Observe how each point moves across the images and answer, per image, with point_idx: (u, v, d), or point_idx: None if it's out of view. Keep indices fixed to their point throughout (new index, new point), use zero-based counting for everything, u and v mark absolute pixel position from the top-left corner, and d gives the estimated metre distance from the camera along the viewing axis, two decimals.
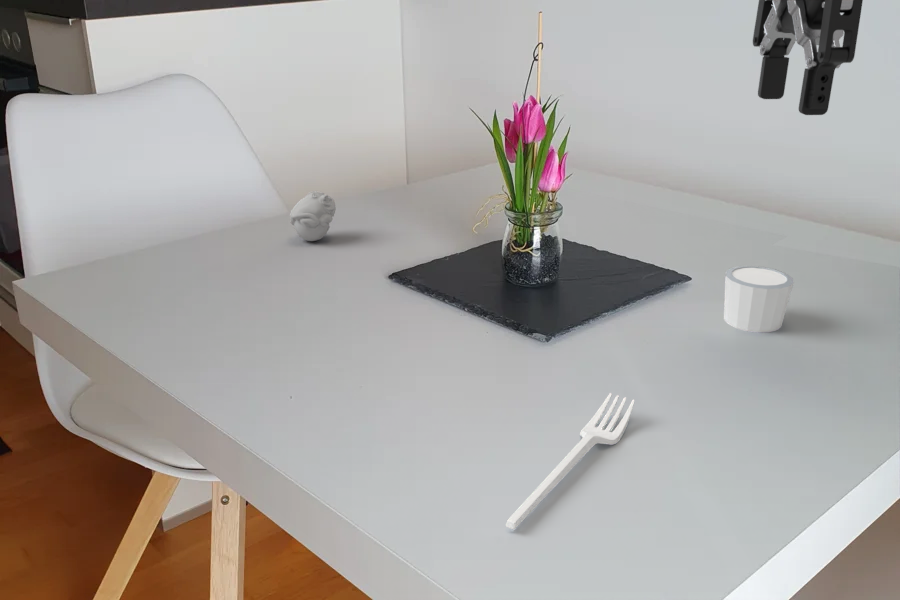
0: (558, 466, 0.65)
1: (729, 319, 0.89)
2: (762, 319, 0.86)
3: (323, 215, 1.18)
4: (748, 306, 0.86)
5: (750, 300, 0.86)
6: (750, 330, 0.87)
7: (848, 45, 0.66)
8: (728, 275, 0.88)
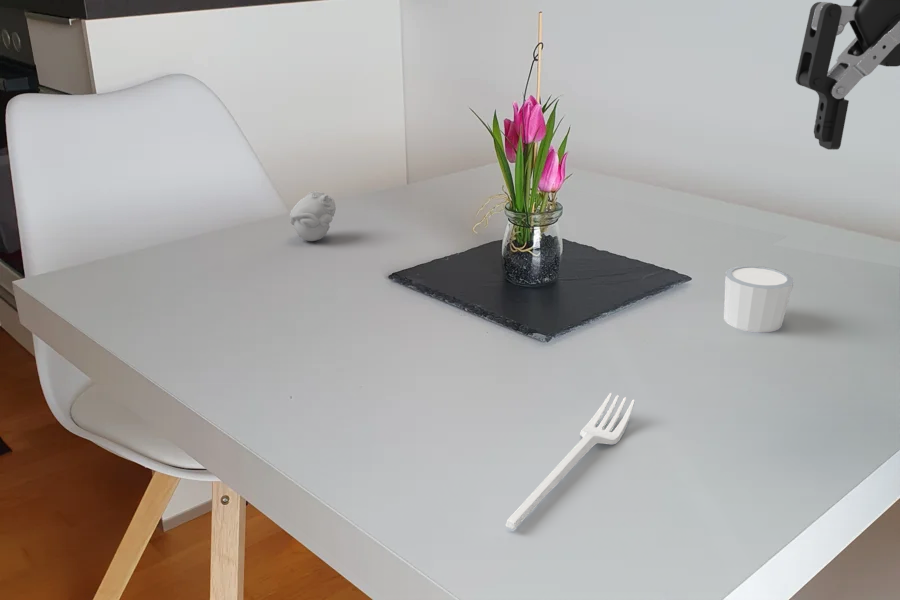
0: (558, 466, 0.65)
1: (729, 319, 0.89)
2: (762, 319, 0.86)
3: (323, 215, 1.18)
4: (748, 306, 0.86)
5: (750, 300, 0.86)
6: (750, 330, 0.87)
7: None
8: (728, 275, 0.88)
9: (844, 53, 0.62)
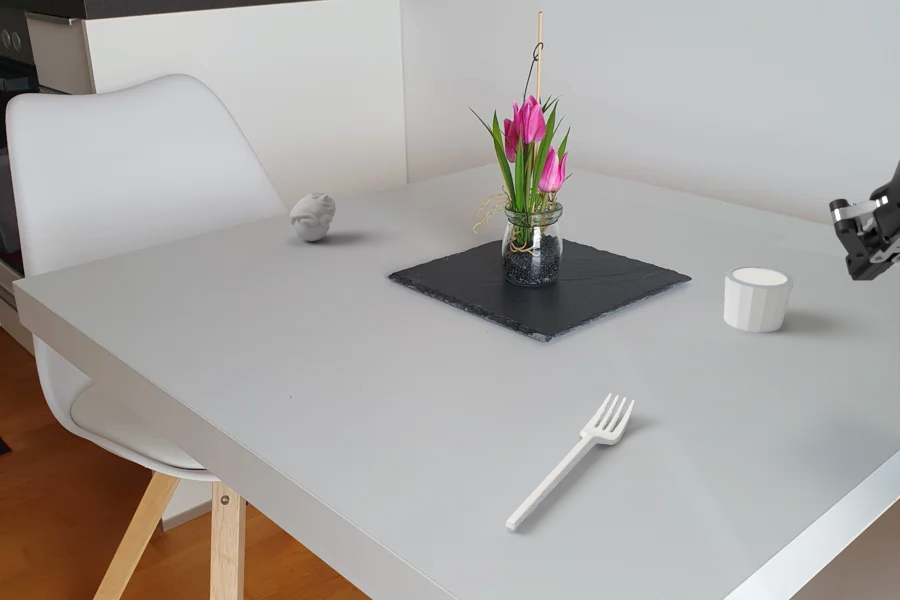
0: (558, 466, 0.65)
1: (729, 319, 0.89)
2: (762, 319, 0.86)
3: (323, 215, 1.18)
4: (748, 306, 0.86)
5: (750, 300, 0.86)
6: (750, 330, 0.87)
7: None
8: (728, 275, 0.88)
9: None
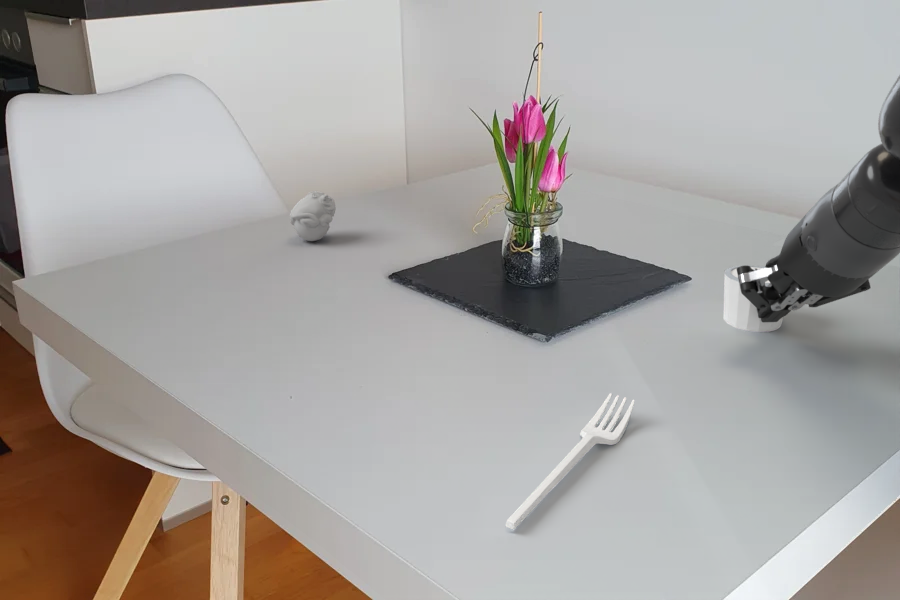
0: (558, 466, 0.65)
1: (728, 318, 0.89)
2: None
3: (323, 215, 1.18)
4: (747, 304, 0.86)
5: None
6: (749, 328, 0.87)
7: None
8: (727, 274, 0.88)
9: None
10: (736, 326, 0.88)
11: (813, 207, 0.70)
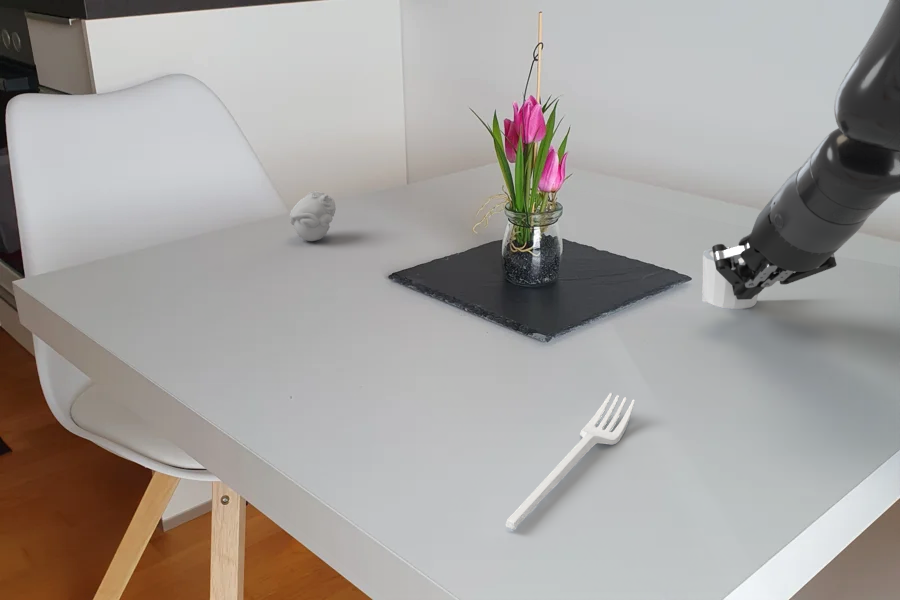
0: (558, 466, 0.65)
1: (706, 296, 0.95)
2: None
3: (323, 215, 1.18)
4: (723, 282, 0.92)
5: None
6: (726, 305, 0.93)
7: None
8: (705, 254, 0.94)
9: None
10: (713, 303, 0.94)
11: None
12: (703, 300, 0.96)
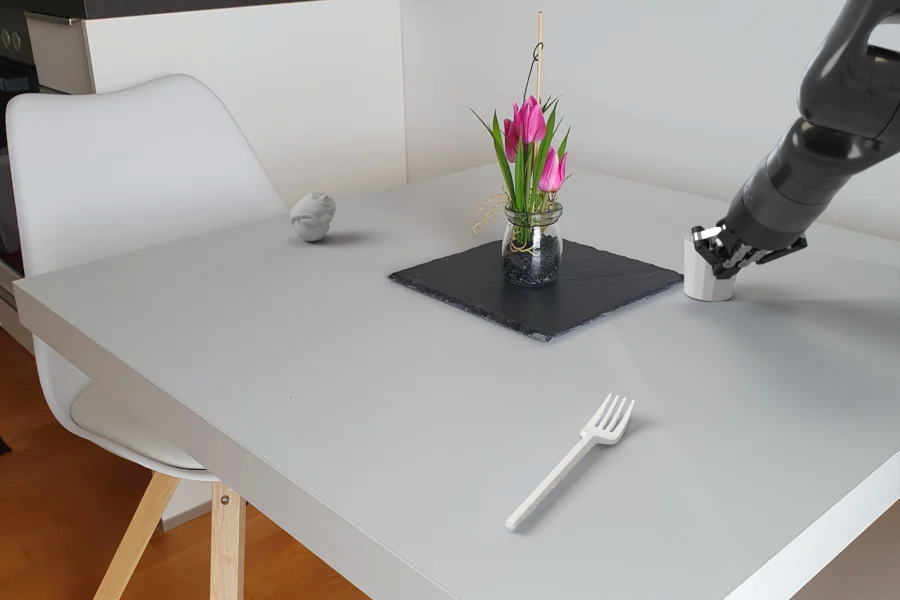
0: (558, 466, 0.65)
1: (687, 277, 1.00)
2: None
3: (323, 215, 1.18)
4: (703, 263, 0.98)
5: None
6: (705, 285, 0.99)
7: None
8: (687, 237, 1.00)
9: None
10: (694, 284, 0.99)
11: (753, 171, 0.81)
12: (685, 281, 1.01)
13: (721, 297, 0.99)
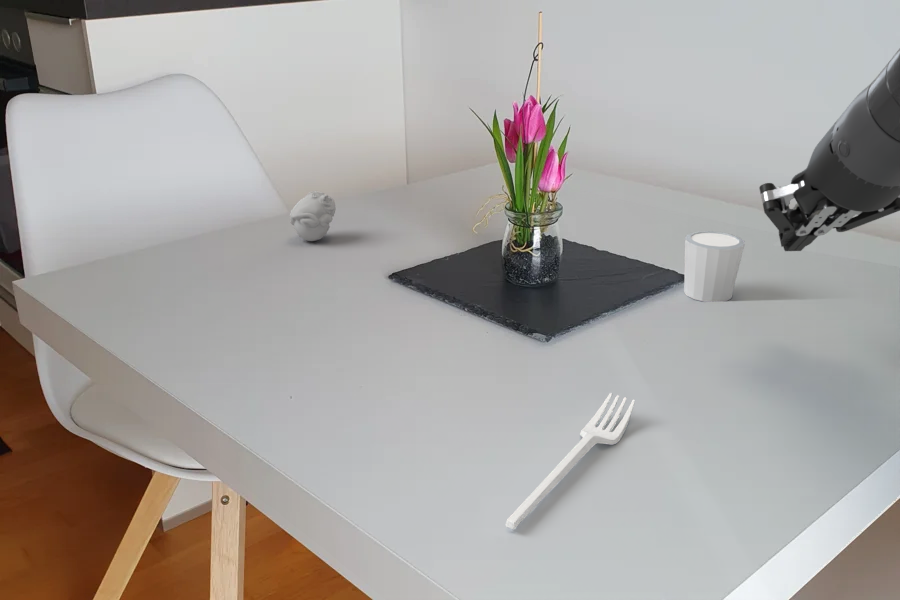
0: (558, 466, 0.65)
1: (688, 278, 1.00)
2: (716, 277, 0.98)
3: (323, 215, 1.18)
4: (703, 265, 0.98)
5: (705, 260, 0.97)
6: (706, 287, 0.99)
7: None
8: (687, 238, 1.00)
9: None
10: (694, 285, 0.99)
11: (845, 110, 0.64)
12: (685, 281, 1.01)
13: (721, 298, 0.99)
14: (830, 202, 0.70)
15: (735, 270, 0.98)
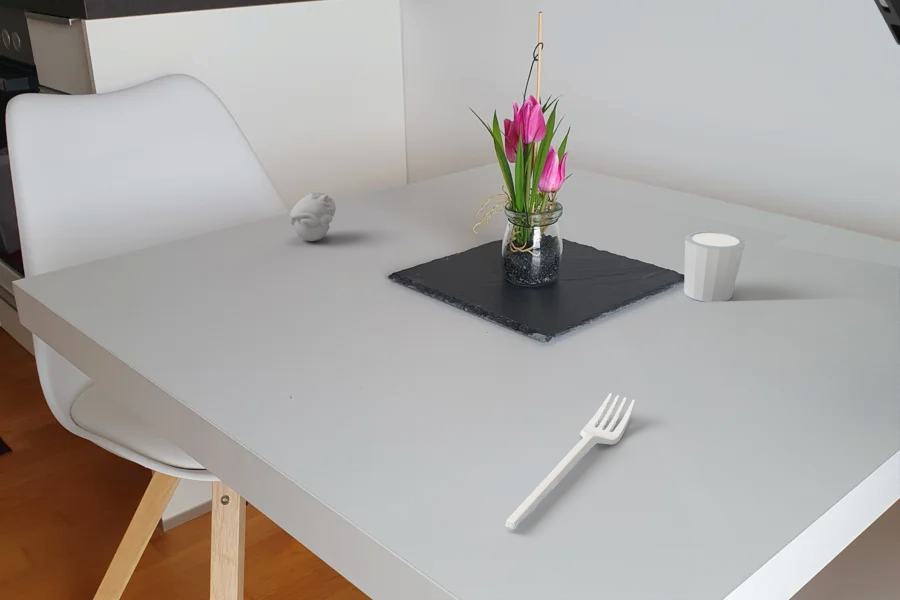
0: (558, 466, 0.65)
1: (688, 278, 1.00)
2: (716, 277, 0.98)
3: (323, 215, 1.18)
4: (703, 265, 0.98)
5: (705, 260, 0.97)
6: (706, 287, 0.99)
7: None
8: (687, 238, 1.00)
9: None
10: (694, 285, 0.99)
11: None
12: (685, 282, 1.01)
13: (721, 298, 0.99)
14: None
15: (735, 270, 0.98)
